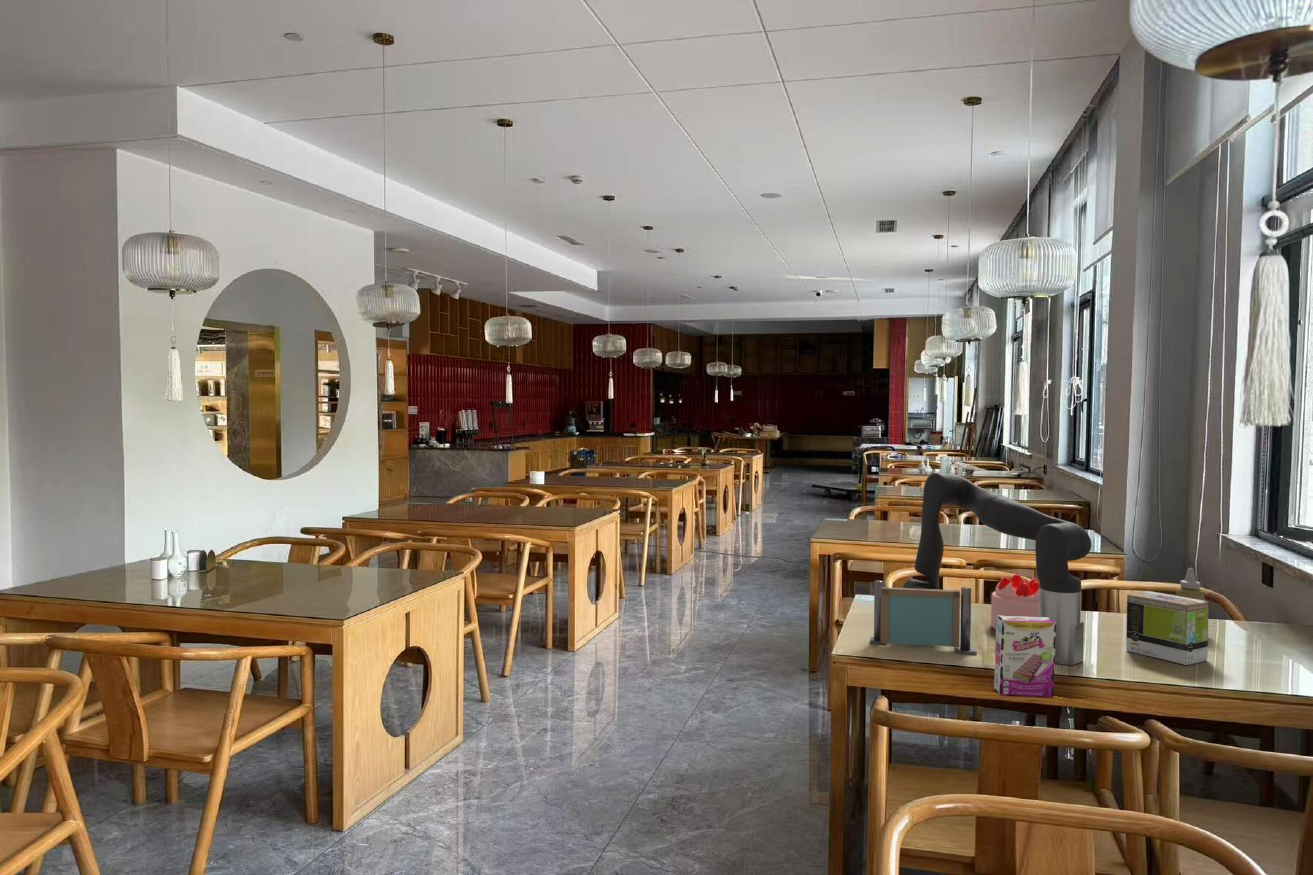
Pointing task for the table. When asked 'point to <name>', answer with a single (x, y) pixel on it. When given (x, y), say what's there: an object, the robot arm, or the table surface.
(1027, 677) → the candy bar box
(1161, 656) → the tea box
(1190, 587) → the squeeze bottle
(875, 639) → the gate posts
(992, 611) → the cake
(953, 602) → the gate leaf
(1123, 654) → the table surface
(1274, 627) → the table surface
